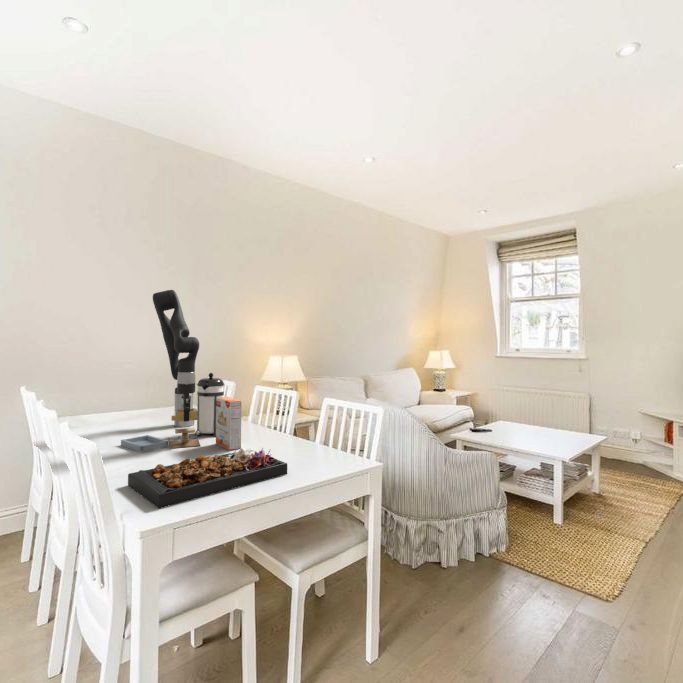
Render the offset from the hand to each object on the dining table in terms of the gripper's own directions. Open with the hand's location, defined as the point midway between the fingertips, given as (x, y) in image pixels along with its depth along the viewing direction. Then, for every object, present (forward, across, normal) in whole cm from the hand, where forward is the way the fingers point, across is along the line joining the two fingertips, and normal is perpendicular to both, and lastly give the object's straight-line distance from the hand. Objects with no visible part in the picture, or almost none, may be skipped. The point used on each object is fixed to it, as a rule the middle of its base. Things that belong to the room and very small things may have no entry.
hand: (185, 419), depth 189 cm
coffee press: (+11, -18, +13) cm, 24 cm away
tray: (+11, -2, -17) cm, 20 cm away
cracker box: (+11, +10, +17) cm, 22 cm away
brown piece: (+11, 0, 0) cm, 11 cm away
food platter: (+11, +52, +5) cm, 53 cm away
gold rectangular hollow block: (0, 0, 0) cm, 0 cm away
